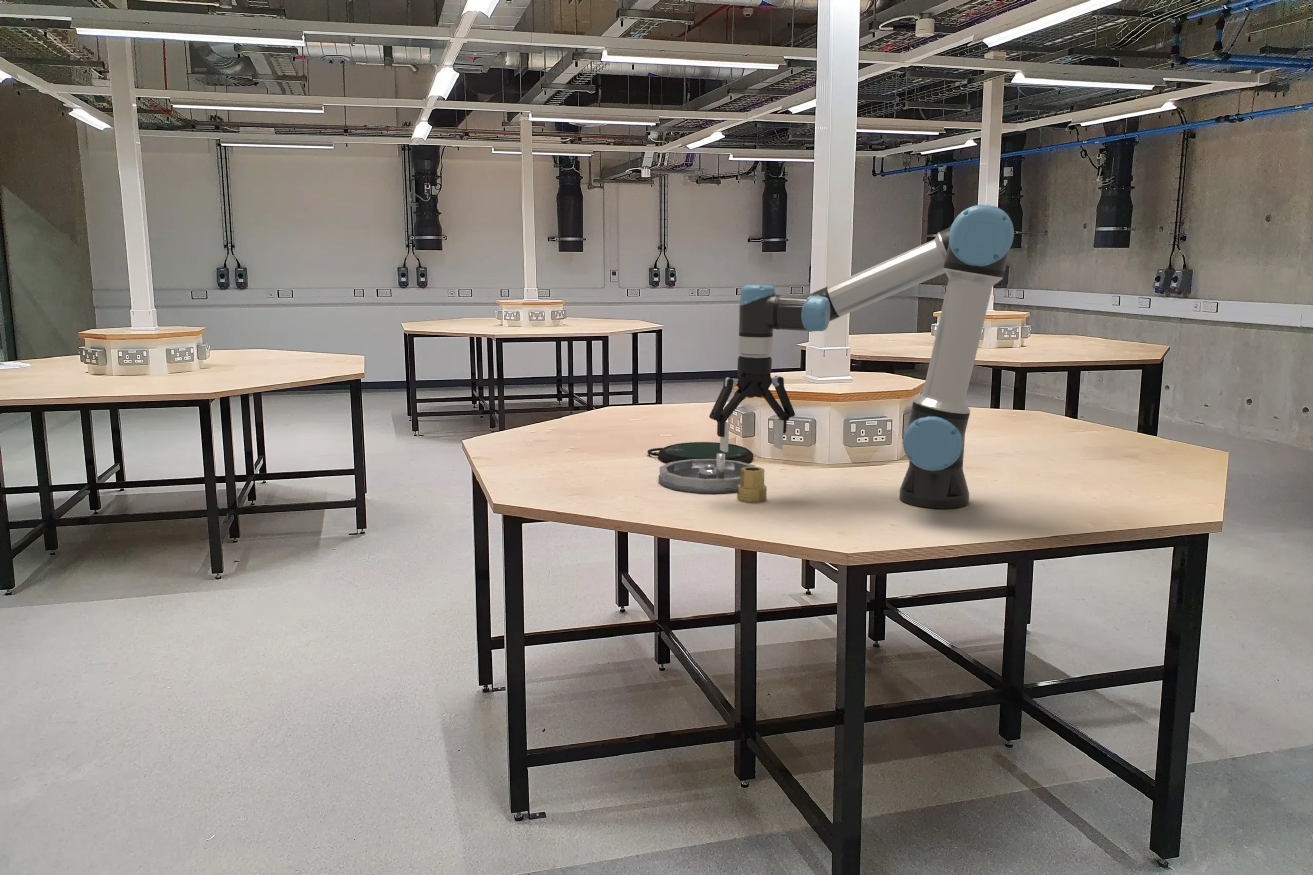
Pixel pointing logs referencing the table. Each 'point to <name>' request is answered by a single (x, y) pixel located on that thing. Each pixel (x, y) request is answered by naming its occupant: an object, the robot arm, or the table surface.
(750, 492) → the brass hex pipe fitting
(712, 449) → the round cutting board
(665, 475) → the carrier
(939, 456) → the robot arm
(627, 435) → the table surface
